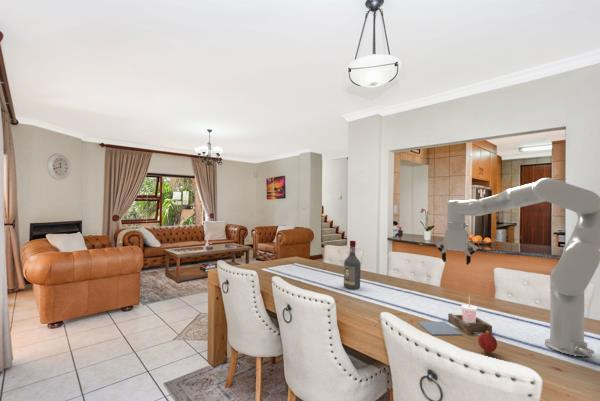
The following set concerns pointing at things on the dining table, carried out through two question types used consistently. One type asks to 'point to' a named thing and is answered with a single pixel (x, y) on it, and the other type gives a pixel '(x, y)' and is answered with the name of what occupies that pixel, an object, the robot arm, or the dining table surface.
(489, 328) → the wooden crate
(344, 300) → the dining table surface
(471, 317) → the beverage cup
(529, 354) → the dining table surface
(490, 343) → the onion
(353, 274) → the liquor
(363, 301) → the dining table surface
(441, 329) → the mat
